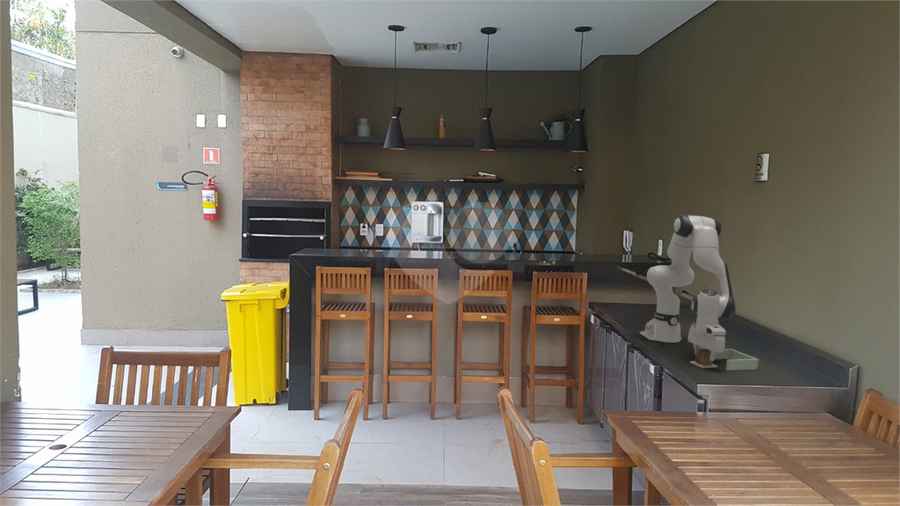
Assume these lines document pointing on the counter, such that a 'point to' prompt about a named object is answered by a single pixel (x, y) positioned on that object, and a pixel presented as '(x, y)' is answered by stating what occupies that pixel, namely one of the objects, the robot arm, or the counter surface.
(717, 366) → the coaster
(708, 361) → the block
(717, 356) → the pale green frame
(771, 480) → the counter surface
